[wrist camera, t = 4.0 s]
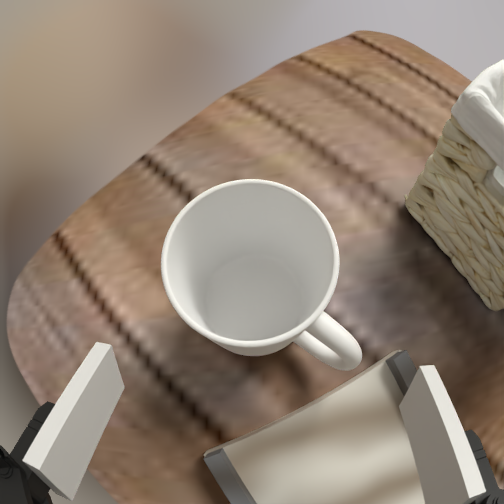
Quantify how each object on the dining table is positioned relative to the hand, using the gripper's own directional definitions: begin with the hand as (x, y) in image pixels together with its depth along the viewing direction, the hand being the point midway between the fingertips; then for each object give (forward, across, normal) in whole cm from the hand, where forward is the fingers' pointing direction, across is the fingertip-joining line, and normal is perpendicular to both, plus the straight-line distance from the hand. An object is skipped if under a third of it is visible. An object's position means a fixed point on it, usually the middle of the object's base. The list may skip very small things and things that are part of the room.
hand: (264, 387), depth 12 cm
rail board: (0, -8, +14) cm, 17 cm away
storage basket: (+20, -24, -5) cm, 32 cm away
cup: (+11, 0, +4) cm, 11 cm away
